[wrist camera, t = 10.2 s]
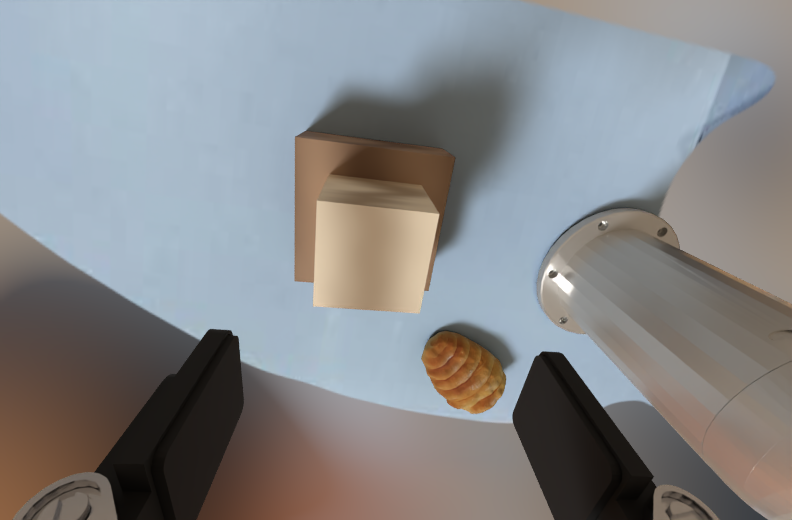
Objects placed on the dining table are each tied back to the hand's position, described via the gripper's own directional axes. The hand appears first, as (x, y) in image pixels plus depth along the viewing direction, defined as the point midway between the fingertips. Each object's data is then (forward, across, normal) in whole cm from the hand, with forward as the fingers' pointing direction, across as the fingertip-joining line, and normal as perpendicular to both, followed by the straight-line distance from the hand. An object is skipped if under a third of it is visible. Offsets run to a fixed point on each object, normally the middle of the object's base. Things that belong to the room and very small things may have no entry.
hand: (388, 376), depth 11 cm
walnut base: (+18, +1, 0) cm, 18 cm away
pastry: (+19, -10, +16) cm, 27 cm away
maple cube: (+14, +1, 0) cm, 14 cm away
